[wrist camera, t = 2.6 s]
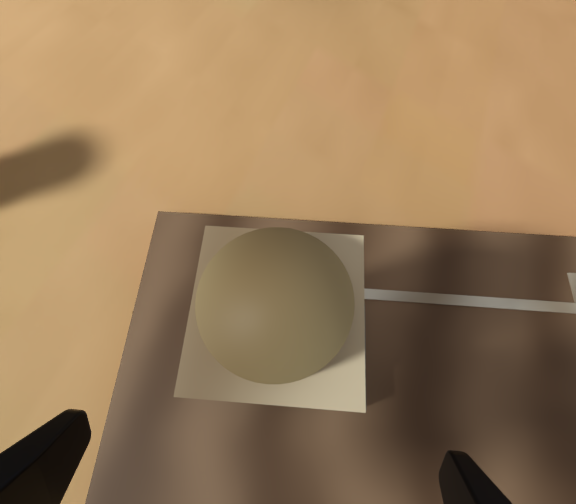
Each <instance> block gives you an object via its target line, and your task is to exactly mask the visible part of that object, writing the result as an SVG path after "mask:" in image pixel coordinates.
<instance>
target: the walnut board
mask: <svg viewBox="0 0 576 504" xmlns="http://www.w3.org/2000/svg"><path fill="white" fill-rule="evenodd" d="M205 226H221V227H237V228H253V229H261V228H269V227H283V228H291V229H295V230H299V231H302V232H316V233H332V234H348V235H364V305H365V337H366V413H361V412H349V411H337V410H324V409H312V408H300V407H288V406H276V405H264V404H252V403H240V402H228V401H216V400H204V399H192V398H180V397H174V391H175V386H176V381H177V375H178V370H179V365H180V359H181V354H182V348H183V343H184V338H185V332H186V327H187V322H188V316H189V311H190V305H191V300H192V295H193V289H194V284H195V279H196V273H197V268H198V263H199V257H200V252H201V246H202V241H203V236H204V230H205ZM448 450H455V451H463V452H465V453H467V454H468V455H469V456H470V457H471V458H472V459H473V460H474V461H475V462H476V464H477V465H478V466H479V467H480V468H481V469H482V470H483V471H484V473H485V474H486V475H487V476H488V477H489V478H490V479H491V480H492V481H493V483H494V484H495V485H496V486H497V487H498V488H499V489H500V490H501V491H502V493H503V494H504V495H505V496H506V497H507V498H508V499H509V500H510V501H511V503H512V504H576V237H568V236H551V235H535V234H519V233H502V232H486V231H470V230H454V229H437V228H421V227H405V226H388V225H372V224H356V223H339V222H323V221H307V220H291V219H274V218H258V217H242V216H225V215H209V214H193V213H176V212H160V211H158V215H157V219H156V223H155V227H154V231H153V235H152V239H151V243H150V247H149V251H148V255H147V259H146V263H145V267H144V271H143V275H142V279H141V283H140V287H139V291H138V295H137V299H136V303H135V307H134V311H133V315H132V319H131V323H130V327H129V331H128V335H127V339H126V343H125V347H124V351H123V355H122V359H121V363H120V367H119V371H118V375H117V379H116V383H115V387H114V391H113V395H112V399H111V403H110V407H109V411H108V415H107V419H106V423H105V427H104V431H103V435H102V439H101V443H100V447H99V451H98V455H97V459H96V463H95V467H94V471H93V475H92V479H91V483H90V487H89V491H88V495H87V499H86V503H85V504H443V499H442V494H441V490H440V485H439V469H440V467H441V464H442V462H443V459H444V456H445V454H446V452H447V451H448Z"/></svg>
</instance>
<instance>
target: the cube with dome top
mask: <svg viewBox="0 0 576 504" xmlns="http://www.w3.org/2000/svg"><path fill="white" fill-rule="evenodd" d="M174 397H180V398H192V399H204V400H216V401H228V402H240V403H252V404H264V405H276V406H288V407H300V408H312V409H324V410H337V411H349V412H361V413H366V337H365V305H364V235H348V234H332V233H316V232H302V231H299V230H295V229H291V228H283V227H269V228H261V229H253V228H237V227H221V226H205V230H204V236H203V241H202V246H201V252H200V257H199V263H198V268H197V273H196V279H195V284H194V289H193V295H192V300H191V305H190V311H189V316H188V322H187V327H186V332H185V338H184V343H183V348H182V354H181V359H180V365H179V370H178V375H177V381H176V386H175V391H174Z"/></svg>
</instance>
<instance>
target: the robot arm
mask: <svg viewBox="0 0 576 504" xmlns="http://www.w3.org/2000/svg"><path fill="white" fill-rule="evenodd" d="M90 438H91V429H90V425H89V422H88V418H87V414H86V412H85V411H83V410H76V409H68V410H66V411H64V412H62V413H60V414H59V415H57V416H56V417H54V418H53V419H51V420H50V421H48V422H47V423H45V424H44V425H42V426H41V427H39V428H38V429H36V430H35V431H33V432H32V433H30V434H29V435H27V436H26V437H24V438H23V439H21V440H20V441H18V442H17V443H15V444H14V445H12V446H11V447H9V448H8V449H6V450H5V451H3V452H2V453H0V504H60V503H61V501H62V499H63V496H64V494H65V492H66V490H67V488H68V486H69V484H70V482H71V480H72V478H73V475H74V473H75V471H76V469H77V467H78V465H79V463H80V461H81V459H82V457H83V454H84V452H85V450H86V448H87V446H88V444H89V442H90ZM439 485H440V490H441V494H442V499H443V504H512V503H511V501H510V500H509V499H508V498H507V497H506V496H505V495H504V494H503V493H502V491H501V490H500V489H499V488H498V487H497V486H496V485H495V484H494V483H493V481H492V480H491V479H490V478H489V477H488V476H487V475H486V474H485V473H484V471H483V470H482V469H481V468H480V467H479V466H478V465H477V464H476V462H475V461H474V460H473V459H472V458H471V457H470V456H469V455H468V454H467V453H465V452H463V451H455V450H448V451H447V452H446V454H445V456H444V459H443V462H442V464H441V467H440V469H439Z"/></svg>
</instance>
